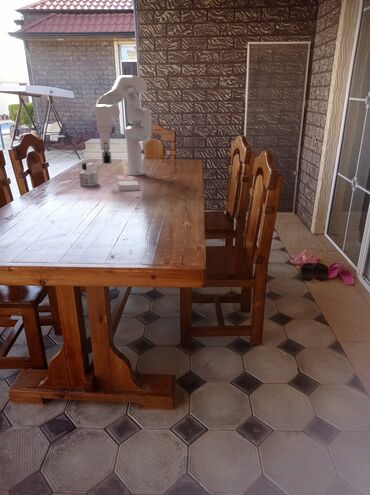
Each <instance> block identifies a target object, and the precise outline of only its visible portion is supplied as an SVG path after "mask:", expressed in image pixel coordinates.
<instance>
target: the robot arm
mask: <svg viewBox="0 0 370 495" xmlns="http://www.w3.org/2000/svg"><path fill="white" fill-rule="evenodd" d="M147 90H148V84H147V82H146V80H145V78H143V77H140V76H138V75H134V74H131V75H130V74H128V75H125V74H123V75H119V76H117V77H116V79H115V81H114V83H113V85H112V87H111V89H110V91H108V92H106V93H104V94H103V95H102V96H100V97H99V99H97V101H96V104H95V105H94V108H93V113H94V115H95V118H96V129H97V130H96V131H97V133H99V142H100V150H101V151H103V152H104V163H110V156H109V152H110V151H111V140H110V133H111V132H112V122H111V120H114V119H118V117H120V114H121V112H120V111H121V110H120V108H119V107H118V106H117V105H116V104H119V103H121V102H122V101H124V99H126V119H127V122H128V123H129V124H135V125H129V126H127V127H126V128H125V129H124V137H125V141H126V149H127V150H126V151H127V152H126V153H127V169H128V171H126V172H125V173H126V175H127V176H142V174H143V175H145V172H146V171H143V158H142V156H143V155H142V146H141V144H140V143H139V142H149V141H150V140H151V138H152V114H151V111H150V109H148V108H145V107H144V108H141V100H140V97H139V96H138V94H144V93H146V92H147Z"/></svg>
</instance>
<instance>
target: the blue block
mask: <svg viewBox="0 0 370 495" xmlns="http://www.w3.org/2000/svg"><path fill="white" fill-rule="evenodd" d="M109 156H110V163H104V151H101V157H102V158H101V159H102V160H101V161H102V164H103V165H106V164H107V165H110V164H112V151H109Z"/></svg>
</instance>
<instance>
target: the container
mask: <svg viewBox="0 0 370 495" xmlns="http://www.w3.org/2000/svg"><path fill="white" fill-rule="evenodd" d="M81 167H82V168H81V169H82V171H80V172H79V174H78V176H79V182H80V184H79V185H80V186H85V187H92V186H96V185H99V175H98V171H95V169H94V163H93V162H83V163H82V164H81Z"/></svg>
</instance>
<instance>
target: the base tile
mask: <svg viewBox="0 0 370 495" xmlns="http://www.w3.org/2000/svg"><path fill="white" fill-rule="evenodd" d="M117 187H118V189H119V190H118V191H121V192H123V191H139V190H140V185H139V183H138V181H137V180H124V181H123V180H122V181H118V182H117Z"/></svg>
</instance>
